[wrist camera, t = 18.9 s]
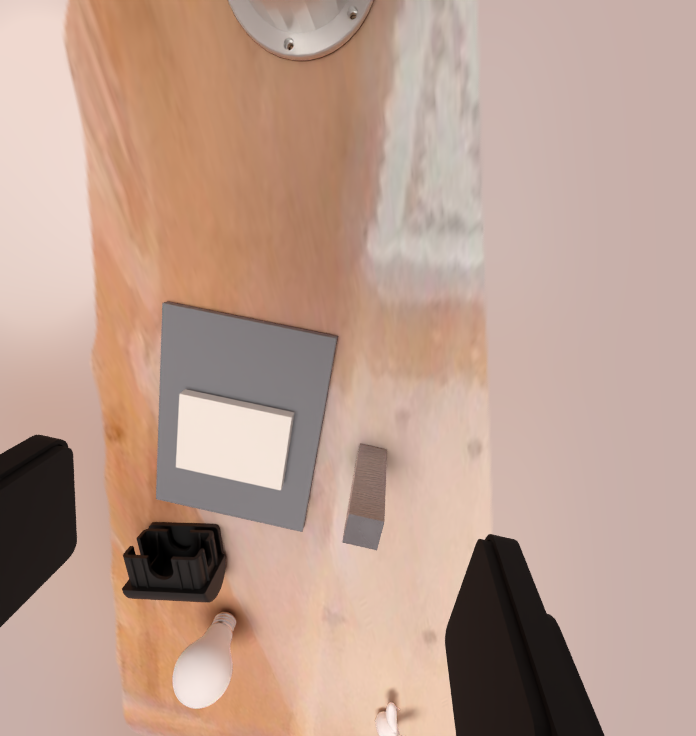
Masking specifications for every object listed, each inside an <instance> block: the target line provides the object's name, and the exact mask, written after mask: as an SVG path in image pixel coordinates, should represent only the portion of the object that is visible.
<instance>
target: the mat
mask: <svg viewBox="0 0 696 736" xmlns="http://www.w3.org/2000/svg"><path fill="white" fill-rule="evenodd" d="M337 338H338V336H335V335H330V334H325V333H320V332H315V331H310V330H305V329H300V328H296V327H291V326H286V325H281V324H276V323H271V322H266V321H261V320H256V319H251V318H246V317H241V316H237V315H232V314H227V313H222V312H217V311H212V310H207V309H202V308H197V307H192V306H187V305H183V304H178V303H173V302H164V303H163V304H162V335H161V365H160V396H159V426H158V457H157V487H156V499H158V500H162V501H167V502H171V503H176V504H180V505H185V506H189V507H194V508H198V509H203V510H207V511H211V512H216V513H220V514H225V515H229V516H234V517H238V518H243V519H247V520H251V521H256V522H260V523H265V524H269V525H274V526H278V527H283V528H287V529H292V530H296V531H300V532H302V531H303V528H304V524H305V518H306V512H307V507H308V501H309V496H310V490H311V484H312V479H313V473H314V467H315V462H316V456H317V451H318V445H319V439H320V434H321V428H322V423H323V417H324V411H325V406H326V400H327V395H328V389H329V383H330V378H331V372H332V366H333V361H334V355H335V350H336V344H337ZM185 389H187V390H192V391H196V392H201V393H206V394H210V395H215V396H220V397H224V398H229V399H234V400H239V401H243V402H248V403H253V404H257V405H262V406H267V407H272V408H276V409H281V410H286V411H290V412H295V413H294V419H293V426H292V432H291V439H290V445H289V452H288V459H287V465H286V472H285V478H284V484H283V486H282V489H281V490H276V489H272V488H267V487H263V486H258V485H254V484H249V483H245V482H240V481H236V480H231V479H227V478H222V477H217V476H213V475H208V474H204V473H199V472H195V471H190V470H186V469H181V468H177V467H176V452H177V432H178V412H179V394H180V393H181V392H182V391H184V390H185Z"/></svg>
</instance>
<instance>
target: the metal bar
mask: <svg viewBox="0 0 696 736" xmlns="http://www.w3.org/2000/svg"><path fill="white" fill-rule="evenodd" d="M386 458H387V449H382V448H378V447H373V446H369V445H364V444H360V446H359V451H358V455H357V460H356V464H355V469H354V475H353V481H352V487H351V493H350V499H349V505H348V511H347V518H346V524H345V530H344V536H343V543H347V544H352V545H356V546H361V547H365V548H369V549H374V550H377V548H378V544H379V540H380V536H381V533H382V529H383V525H384V516H385V487H386Z"/></svg>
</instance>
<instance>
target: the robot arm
mask: <svg viewBox="0 0 696 736" xmlns="http://www.w3.org/2000/svg"><path fill="white" fill-rule="evenodd" d="M228 3H229V5H230V7H231V9H232V11H233V13H234V15H235V17H236V19H237V20H238V21H239V23H240V24H241V26H242V27H243V29H244V30H245V31H246V32H247V33H248V34H249V36H250V37H251V38H252V39H253V40H254V41H255V42H256V43H257V44H259V45H260V46H261V47H263V48H264V49H265V50H266V51H268V52H270V53H272V54H275V55H277V56H279V57H282V58H286V59H290V60H311V59H316V58H320V57H323V56H325V55H327V54H329V53H331V52H334V51H335V50H337V49H338V48H339V47H341V46H342V45H343V44H345V43H346V42H347V41H348V40H349V39H350V38H351V37H352V36H353V35H354V34H355V32H356V31H357V30H358V29H359V28H360V26H361V24H362V23H363V21H364V20H365V18H366V16H367V15H368V12H369V10H370V8H371V5H372V3H373V0H228ZM352 15H356V18H355V19H353V20H351V19H350V18H351V16H352ZM290 45H293V46H294V47H293V49H292V50H289V49H288V48H289V46H290ZM75 511H76V510H75V488H74V465H73V452H72V450H71V449H70V448H68V445H67V443H66V441H64V440H61V439H56V438H52V437H48V436H43V435H35V436H32V437H30V438H28V439H26V440H25V441H23V442H21V443H20V444H18V445H16V446H14V447H12V448H11V449H9V450H7V451H5V452H4V453H2V454H0V627H1V626H2V625H3V624H4V623H5V622H6V621H7V620H8V619H9V618H10V617H11V616H12V615H13V614H14V613H15V612H16V611H17V610H18V609H19V608H20V607H21V606H22V605H23V604H24V603H25V602H26V601H27V600H28V599H29V598H30V597H31V596H32V595H33V594H34V593H35V592H36V591H37V590H38V589H39V588H40V587H41V586H42V585H43V584H44V582H46V581H47V580H48V579H49V578H50V577H51V575H52V574H54V573H55V572H56V571H57V570H58V569H59V568H60V567H61V566H62V565H63V564H64V563H65V562H66V561H67V559H68V558H69V557H70V556H71V555H72V553H73V552H74V549H75V547H76V544H77V533H76V512H75ZM445 647H446V655H447V663H448V671H449V680H450V688H451V696H452V704H453V712H454V720H455V729H456V736H604V733H603V731H602V728H601V726H600V724H599V721H598V719H597V717H596V714H595V712H594V709H593V707H592V704H591V702H590V700H589V697H588V695H587V692H586V691H585V688H584V685H583V683H582V680H581V678H580V676H579V673H578V671H577V668H576V666H575V664H574V661H573V659H572V656H571V654H570V651H569V649H568V647H567V645H566V642H565V640H564V637H563V635H562V632H561V630H560V627H559V626H558V624H557V622H556V620H555V619H554V618H553V617H552V616H551V615H549V614H547V613H546V611H545V609H544V606H543V603H542V601H541V598H540V596H539V593H538V591H537V588H536V586H535V583H534V581H533V578H532V576H531V573H530V571H529V568H528V566H527V563H526V561H525V558H524V556H523V553H522V550H521V548H520V546H519V543H518V542H517V541H516V540H514V539H510V538H505V537H500V536H496V535H492V534H490V535H488V536H487V537H486V539H485V540H482V539H479V540H478V541H477V543H476V545H475V548H474V551H473V554H472V557H471V560H470V563H469V565H468V568H467V571H466V574H465V577H464V580H463V582H462V585H461V588H460V591H459V594H458V597H457V599H456V602H455V605H454V608H453V611H452V614H451V616H450V619H449V622H448V625H447V628H446V635H445Z"/></svg>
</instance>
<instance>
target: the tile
mask: <svg viewBox="0 0 696 736" xmlns="http://www.w3.org/2000/svg"><path fill="white" fill-rule="evenodd" d="M294 413H295V412H290V411H286V410H281V409H276V408H272V407H267V406H262V405H257V404H253V403H248V402H243V401H239V400H234V399H229V398H224V397H220V396H215V395H210V394H206V393H201V392H196V391H192V390H187V389H185V390H184V391H182V392H181V393H180V394H179V412H178V432H177V452H176V467H177V468H181V469H186V470H190V471H195V472H199V473H204V474H208V475H213V476H217V477H222V478H227V479H231V480H236V481H240V482H245V483H249V484H254V485H258V486H263V487H267V488H272V489H276V490H281V489H282V486H283V484H284V478H285V472H286V465H287V459H288V452H289V445H290V439H291V432H292V426H293V419H294Z"/></svg>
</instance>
